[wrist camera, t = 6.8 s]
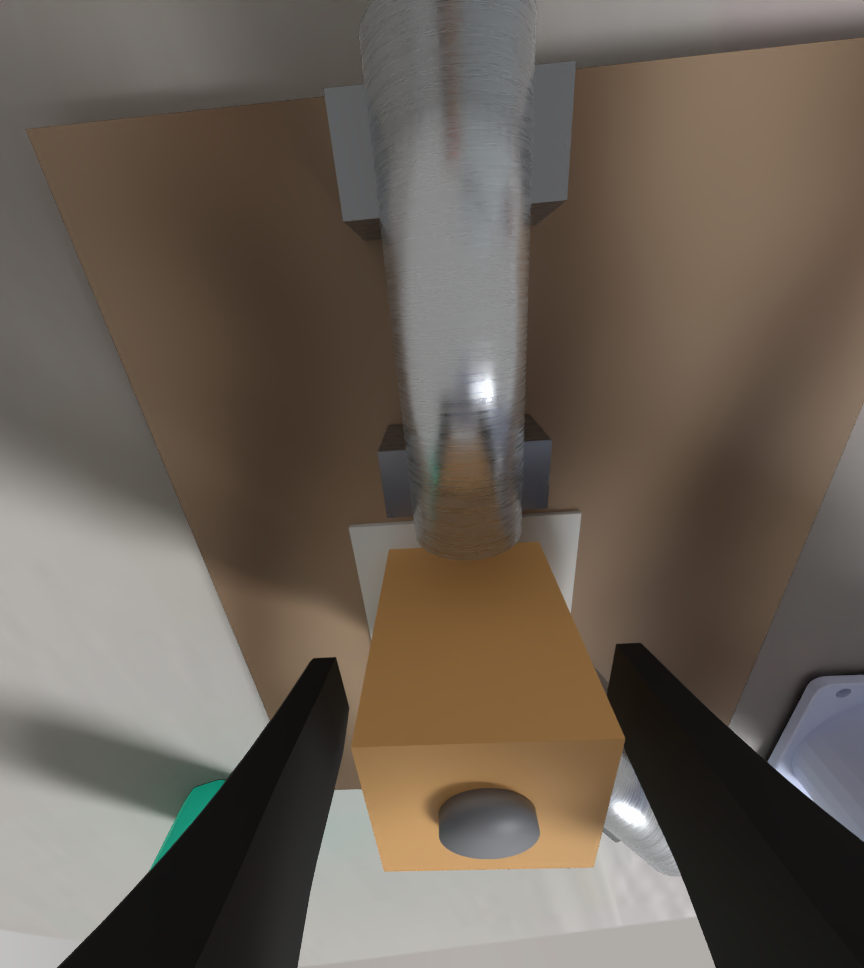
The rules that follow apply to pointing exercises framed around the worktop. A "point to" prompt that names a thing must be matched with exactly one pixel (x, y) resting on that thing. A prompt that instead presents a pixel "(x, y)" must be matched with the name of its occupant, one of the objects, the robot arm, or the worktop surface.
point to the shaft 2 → (636, 817)
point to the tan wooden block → (482, 719)
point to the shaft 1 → (456, 250)
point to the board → (549, 357)
